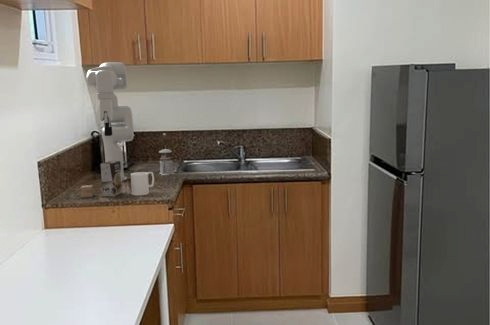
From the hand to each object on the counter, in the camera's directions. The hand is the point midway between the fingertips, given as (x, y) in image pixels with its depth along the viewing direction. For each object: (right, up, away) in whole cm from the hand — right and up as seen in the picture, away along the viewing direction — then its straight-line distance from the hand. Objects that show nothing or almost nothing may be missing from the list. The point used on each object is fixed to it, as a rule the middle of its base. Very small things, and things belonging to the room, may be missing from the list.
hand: (108, 135), depth 226 cm
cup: (+16, -28, +6) cm, 33 cm away
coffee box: (+1, -29, +4) cm, 29 cm away
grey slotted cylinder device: (+18, -20, +61) cm, 67 cm away
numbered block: (-11, -30, +2) cm, 32 cm away
